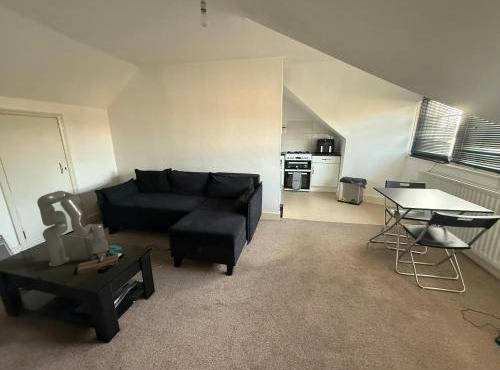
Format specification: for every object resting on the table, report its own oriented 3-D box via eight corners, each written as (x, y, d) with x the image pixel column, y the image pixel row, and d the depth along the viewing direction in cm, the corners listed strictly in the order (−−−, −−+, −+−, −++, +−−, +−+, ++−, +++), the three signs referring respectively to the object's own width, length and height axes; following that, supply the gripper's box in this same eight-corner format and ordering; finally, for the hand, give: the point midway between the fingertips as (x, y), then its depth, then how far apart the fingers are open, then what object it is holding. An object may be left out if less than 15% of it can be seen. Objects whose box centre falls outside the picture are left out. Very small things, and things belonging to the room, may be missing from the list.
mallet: (99, 259, 179) (98, 251, 178) (106, 257, 182) (105, 250, 180) (98, 267, 168) (97, 259, 166) (106, 265, 170) (104, 257, 169)
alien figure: (118, 256, 185) (123, 245, 203) (117, 253, 184) (122, 243, 203) (91, 260, 178) (98, 249, 197) (90, 258, 178) (98, 247, 196)
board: (80, 266, 169) (79, 263, 169) (118, 257, 182) (117, 253, 182) (77, 274, 159) (77, 271, 159) (118, 263, 172) (117, 260, 172)
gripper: (86, 243, 167) (90, 264, 171) (111, 238, 176) (114, 257, 180) (87, 239, 174) (91, 259, 178) (111, 234, 182) (115, 253, 186)
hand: (103, 258), depth 179 cm, fingers closed on mallet, 5 cm apart
